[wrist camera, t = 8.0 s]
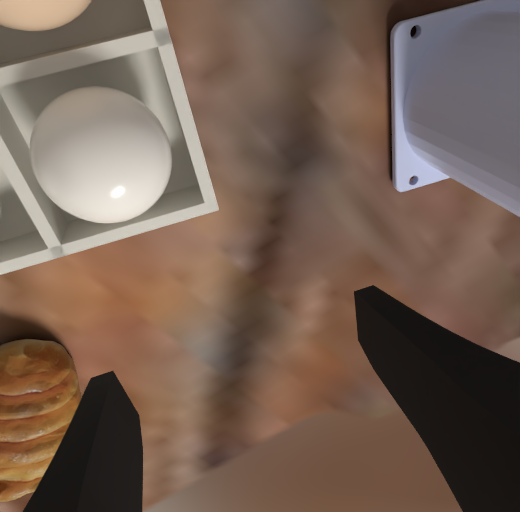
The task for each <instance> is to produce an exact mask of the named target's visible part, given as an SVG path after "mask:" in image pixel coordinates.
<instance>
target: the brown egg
mask: <svg viewBox="0 0 520 512" xmlns="http://www.w3.org/2000/svg"><path fill="white" fill-rule="evenodd" d="M91 1H92V0H0V25H2V26H5V27H8V28H12V29H17V30H25V31H43V30H50V29H54V28H57V27H60V26H63V25H65V24H67V23H69V22H71V21H72V20H74V19H75V18H76V17H78V16H79V15H80V14H81V13H82V12H83V11H84V10H85V9H86V8H87V7H88V5H89V4H90V3H91Z"/></svg>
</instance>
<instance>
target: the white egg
mask: <svg viewBox="0 0 520 512" xmlns="http://www.w3.org/2000/svg"><path fill="white" fill-rule="evenodd" d="M30 160H31V165H32V169H33V172H34V175H35V177H36V179H37V181H38V183H39V185H40V186H41V188H42V189H43V191H44V192H45V193H46V195H47V196H48V197H49V198H50V199H51V200H52V201H53V202H54V203H55V204H56V205H57V206H59V207H60V208H61V209H63V210H64V211H66V212H68V213H69V214H71V215H73V216H75V217H78V218H80V219H83V220H86V221H91V222H96V223H117V222H122V221H127V220H129V219H132V218H135V217H137V216H139V215H141V214H142V213H144V212H145V211H147V210H148V209H149V208H150V207H151V206H153V205H154V204H155V203H156V201H157V200H158V199H159V198H160V197H161V195H162V193H163V192H164V190H165V188H166V186H167V183H168V181H169V177H170V174H171V168H172V154H171V147H170V143H169V139H168V137H167V134H166V132H165V130H164V128H163V126H162V124H161V122H160V121H159V120H158V118H157V117H156V115H155V114H154V113H153V112H152V111H151V110H150V109H149V108H148V107H147V106H146V105H145V104H143V103H142V102H141V101H139V100H138V99H136V98H135V97H133V96H131V95H129V94H127V93H125V92H122V91H119V90H117V89H113V88H108V87H99V86H90V87H82V88H77V89H74V90H71V91H68V92H66V93H64V94H62V95H60V96H59V97H57V98H56V99H55V100H53V101H52V102H51V103H50V104H48V105H47V106H46V107H45V108H44V110H43V111H42V112H41V114H40V115H39V117H38V119H37V121H36V123H35V125H34V127H33V130H32V134H31V139H30Z"/></svg>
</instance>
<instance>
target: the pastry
mask: <svg viewBox="0 0 520 512" xmlns="http://www.w3.org/2000/svg"><path fill="white" fill-rule="evenodd" d="M80 400H81V393H80V388H79V383H78V377H77V373H76V369H75V365H74V362H73V359H72V358H71V357H70V356H69V354H68V353H67V351H66V350H65V348H64V347H63V346H62V345H61V344H58V343H56V342H54V341H42V340H35V339H23V340H17V341H12V342H8V343H4V344H2V345H0V501H1V502H4V501H10V500H14V499H17V498H20V497H21V496H23V495H25V494H27V493H31V492H35V490H36V488H37V486H38V484H39V482H40V481H41V479H42V477H43V475H44V473H45V471H46V470H47V468H48V466H49V464H50V462H51V460H52V459H53V457H54V455H55V453H56V451H57V449H58V447H59V445H60V443H61V441H62V439H63V437H64V435H65V432H66V430H67V428H68V426H69V424H70V422H71V420H72V418H73V416H74V414H75V411H76V409H77V407H78V405H79V403H80Z"/></svg>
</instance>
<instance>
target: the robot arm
mask: <svg viewBox="0 0 520 512" xmlns="http://www.w3.org/2000/svg"><path fill="white" fill-rule="evenodd" d="M413 26H416V34H415V35H414V36H413V37H411V35H410V32H411V29H412V27H413ZM390 48H391V110H392V172H393V187H394V188H395V189H396V190H398V191H400V192H404V191H407V190H411V189H414V188H417V187H420V186H424V185H427V184H430V183H434V182H437V181H440V180H443V179H447V178H450V177H451V178H453V179H454V180H456V181H458V182H460V183H461V184H463V185H465V186H467V187H468V188H470V189H472V190H474V191H475V192H477V193H479V194H481V195H482V196H484V197H486V198H488V199H489V200H491V201H493V202H495V203H496V204H498V205H500V206H502V207H503V208H505V209H507V210H509V211H510V212H512V213H514V214H516V215H517V216H519V217H520V0H480V1H477V2H473V3H469V4H465V5H461V6H457V7H454V8H450V9H446V10H442V11H438V12H434V13H430V14H427V15H423V16H419V17H415V18H411V19H407V20H403V21H400V22H398V23H397V24H396V25H395V26H394V27H393V29H392V31H391V36H390ZM413 176H414V179H413V180H412V181H411V182H409V180H410V178H411V177H413ZM354 297H355V308H356V320H357V331H358V341H359V343H360V345H361V346H362V348H363V350H364V352H365V354H366V356H367V358H368V360H369V362H370V363H371V365H372V367H373V369H374V370H375V372H376V373H377V375H378V376H379V378H380V379H381V381H382V382H383V384H384V385H385V386H386V388H387V389H388V391H389V392H390V394H391V395H392V397H393V398H394V399H395V401H396V402H397V404H398V405H399V407H400V408H401V409H402V411H403V412H404V414H405V415H406V416H407V418H408V419H409V421H410V422H411V424H412V425H413V426H414V428H415V429H416V431H417V432H418V434H419V435H420V437H421V438H422V440H423V442H424V443H425V445H426V446H427V448H428V449H429V451H430V453H431V455H432V457H433V459H434V460H435V462H436V464H437V466H438V467H439V469H440V471H441V473H442V474H443V476H444V478H445V480H446V481H447V483H448V485H449V487H450V489H451V491H452V492H453V494H454V496H455V498H456V500H457V502H458V503H459V505H460V507H461V509H462V511H463V512H520V363H519V362H517V361H514V360H511V359H509V358H507V357H504V356H502V355H500V354H498V353H495V352H493V351H491V350H488V349H486V348H484V347H481V346H479V345H477V344H475V343H473V342H471V341H469V340H467V339H465V338H463V337H461V336H459V335H457V334H455V333H453V332H451V331H449V330H447V329H446V328H444V327H442V326H440V325H438V324H437V323H435V322H433V321H431V320H429V319H428V318H426V317H424V316H422V315H421V314H419V313H417V312H416V311H414V310H412V309H411V308H409V307H408V306H406V305H404V304H403V303H401V302H399V301H398V300H396V299H395V298H393V297H391V296H390V295H388V294H387V293H385V292H383V291H382V290H380V289H379V288H377V287H375V286H374V285H372V286H369V287H366V288H363V289H360V290H357V291H354ZM142 491H143V446H142V436H141V427H140V419H139V414H138V413H137V411H136V409H135V407H134V406H133V404H132V402H131V401H130V399H129V397H128V395H127V394H126V392H125V390H124V389H123V387H122V385H121V384H120V382H119V380H118V378H117V377H116V375H115V373H114V372H113V371H111V372H108V373H105V374H102V375H99V376H96V377H93V378H91V379H90V381H89V383H88V385H87V387H86V389H85V392H84V394H83V396H82V398H81V400H80V403H79V405H78V407H77V409H76V411H75V414H74V416H73V418H72V420H71V422H70V424H69V426H68V428H67V430H66V432H65V435H64V437H63V439H62V441H61V443H60V445H59V447H58V449H57V451H56V453H55V455H54V457H53V459H52V460H51V462H50V464H49V466H48V468H47V470H46V471H45V473H44V475H43V477H42V479H41V481H40V482H39V484H38V486H37V488H36V490H35V492H34V493H33V495H32V497H31V498H30V500H29V502H28V503H27V505H26V507H25V508H24V510H23V512H142Z"/></svg>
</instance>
